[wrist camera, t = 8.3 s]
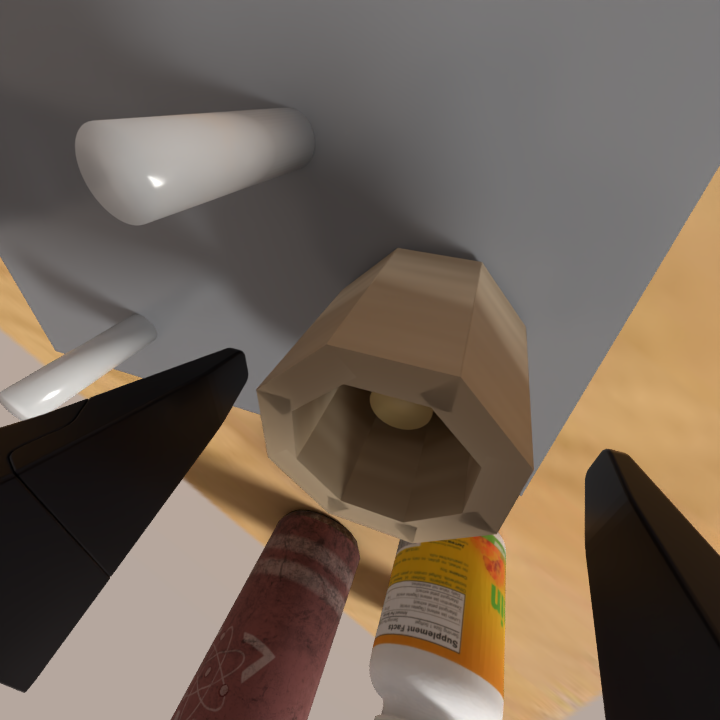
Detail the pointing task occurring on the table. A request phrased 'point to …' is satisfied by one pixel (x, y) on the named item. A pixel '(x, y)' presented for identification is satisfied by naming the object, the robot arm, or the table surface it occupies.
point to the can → (278, 626)
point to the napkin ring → (413, 384)
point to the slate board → (342, 171)
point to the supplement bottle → (443, 632)
